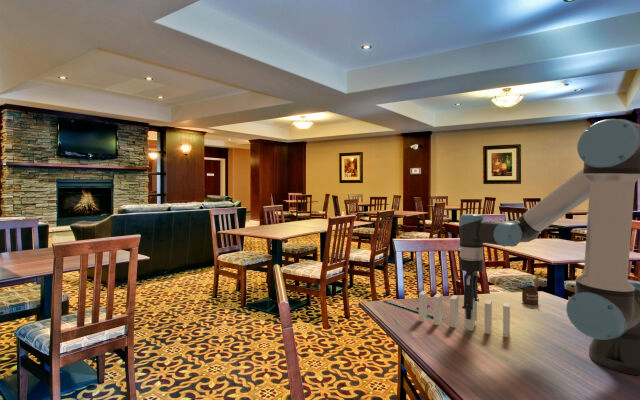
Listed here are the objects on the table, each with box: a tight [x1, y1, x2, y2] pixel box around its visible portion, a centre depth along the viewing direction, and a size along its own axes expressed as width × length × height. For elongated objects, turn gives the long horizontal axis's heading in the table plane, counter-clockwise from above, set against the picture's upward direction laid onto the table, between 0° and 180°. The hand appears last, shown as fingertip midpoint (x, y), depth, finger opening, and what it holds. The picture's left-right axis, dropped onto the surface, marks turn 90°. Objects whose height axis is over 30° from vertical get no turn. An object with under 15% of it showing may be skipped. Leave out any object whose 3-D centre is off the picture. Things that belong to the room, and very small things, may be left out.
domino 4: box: [466, 298, 476, 331], centre depth 122 cm, size 2×5×10 cm, turn 150°
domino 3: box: [449, 294, 459, 328], centre depth 125 cm, size 2×5×10 cm, turn 149°
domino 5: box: [484, 299, 493, 335], centre depth 119 cm, size 2×5×10 cm, turn 149°
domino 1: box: [418, 290, 428, 323], centre depth 131 cm, size 2×5×10 cm, turn 149°
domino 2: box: [433, 293, 443, 326], centre depth 127 cm, size 2×5×10 cm, turn 148°
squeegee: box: [382, 300, 434, 319], centre depth 144 cm, size 29×2×10 cm
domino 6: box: [502, 301, 511, 338], centre depth 117 cm, size 2×5×10 cm, turn 149°
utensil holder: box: [521, 274, 540, 306], centre depth 149 cm, size 6×6×12 cm
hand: (470, 323), depth 122 cm, fingers open, 8 cm apart
